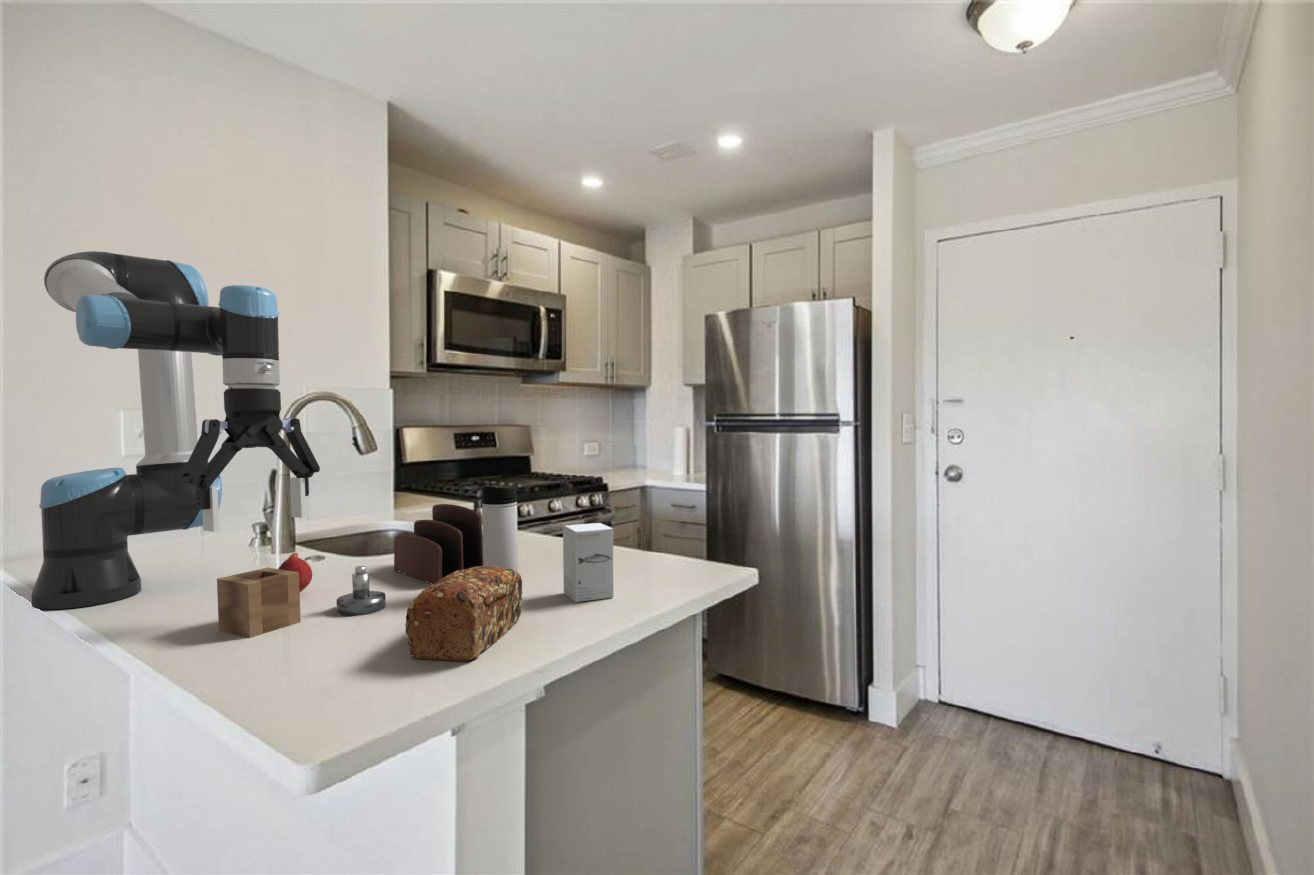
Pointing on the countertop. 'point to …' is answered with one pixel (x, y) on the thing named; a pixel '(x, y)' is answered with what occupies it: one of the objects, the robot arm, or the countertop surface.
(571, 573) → the supplement box
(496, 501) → the travel mug
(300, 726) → the countertop surface
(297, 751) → the countertop surface
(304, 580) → the onion
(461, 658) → the bread
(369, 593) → the hub
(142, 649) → the countertop surface
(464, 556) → the letter holder
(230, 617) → the collar
